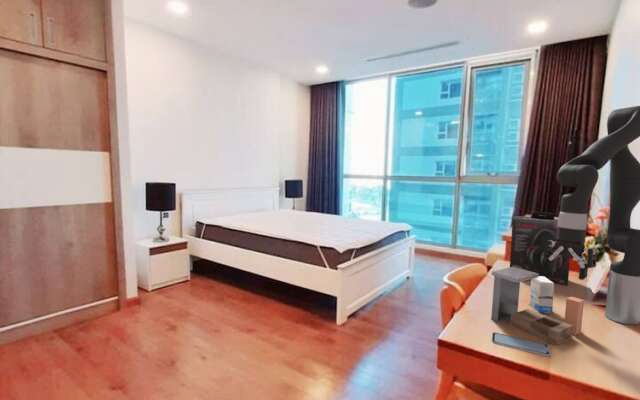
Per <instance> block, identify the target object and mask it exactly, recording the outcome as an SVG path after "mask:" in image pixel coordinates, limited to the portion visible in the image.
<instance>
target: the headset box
mask: <svg viewBox="0 0 640 400" xmlns="http://www.w3.org/2000/svg"><path fill="white" fill-rule="evenodd" d="M557 227H558V218H557V219H556V218H555V216H554V213H553V212H544V211H532V213H531V215H530V216H521V215H515V216H513V218H512V222H511V237H510V238H511V239H510V240H511V241H510V242H511V243H510V254H509V255H510V257H509V268H510V267H516V268H520V269H523V270H527V271H531V272H534V273H538V274H539V276H543V277H546V278H547V279H548V280H550V281H551V282H553V283H554V284H558V285H562V286H568V285H569V277H570V262H571V258H569V257H563V256H560V257H559V258H558V259H557V260H556V261H557V267H556V272H551V271H550V270H549V262H550V260H549V259H548V258H545V257H544V249H545V243H546V241H548V240H553V241H554V242H556V241H557V238H556V237H557ZM556 250H557V248H556V247H555V246H554V247H553V249H552V255H553V253H554V252H555V251H556Z"/></svg>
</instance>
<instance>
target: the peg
mask: <svg viewBox="0 0 640 400" xmlns="http://www.w3.org/2000/svg"><path fill="white" fill-rule="evenodd" d="M584 307H585V300H584V299H581V298H578V297H575V296H569V297H567V298H566V302H565V313H564V321H563V322H565V323H568V324H570V325H573V330H572V335H579V334H580V333H582V326H583V318H584V317H583V316H584V315H583V314H584Z"/></svg>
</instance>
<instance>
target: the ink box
mask: <svg viewBox="0 0 640 400" xmlns="http://www.w3.org/2000/svg"><path fill="white" fill-rule="evenodd" d="M554 288H555V283H553V282H551V281H550V280H548V279H547V278H546V277H543V276H539V277H537V278H533V279H530V291H529V292H530V293H529V303H528V304H529V305H530V306H532V307H533V308H534V310H536V312H537V313H541V314H543V313H544V314H545V313H546V314H553V304H554V291H555V289H554Z"/></svg>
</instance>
